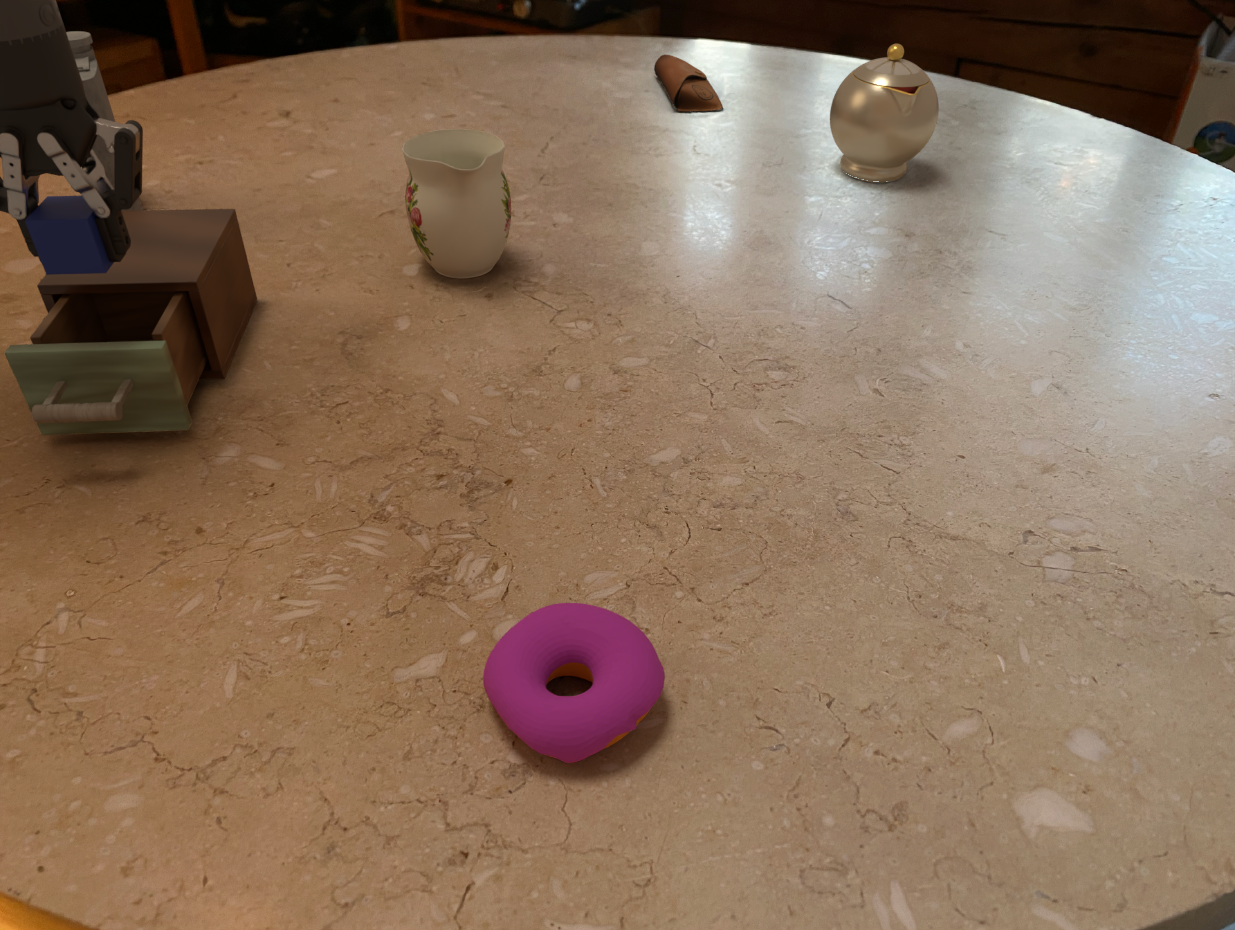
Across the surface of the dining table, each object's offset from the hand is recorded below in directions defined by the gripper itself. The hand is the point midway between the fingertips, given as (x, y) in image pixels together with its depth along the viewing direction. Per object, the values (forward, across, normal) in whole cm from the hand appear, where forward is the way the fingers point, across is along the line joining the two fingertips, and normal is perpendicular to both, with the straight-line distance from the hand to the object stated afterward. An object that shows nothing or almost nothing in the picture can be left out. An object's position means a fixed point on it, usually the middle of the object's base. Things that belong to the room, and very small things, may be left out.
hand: (84, 257), depth 73 cm
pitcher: (+14, -27, -26) cm, 40 cm away
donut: (+14, -36, +34) cm, 52 cm away
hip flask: (+14, +13, -40) cm, 44 cm away
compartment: (+13, 0, +1) cm, 13 cm away
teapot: (+14, -81, -51) cm, 97 cm away
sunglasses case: (+14, -61, -83) cm, 104 cm away
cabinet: (+14, 0, -11) cm, 18 cm away
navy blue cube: (0, 0, 0) cm, 0 cm away
